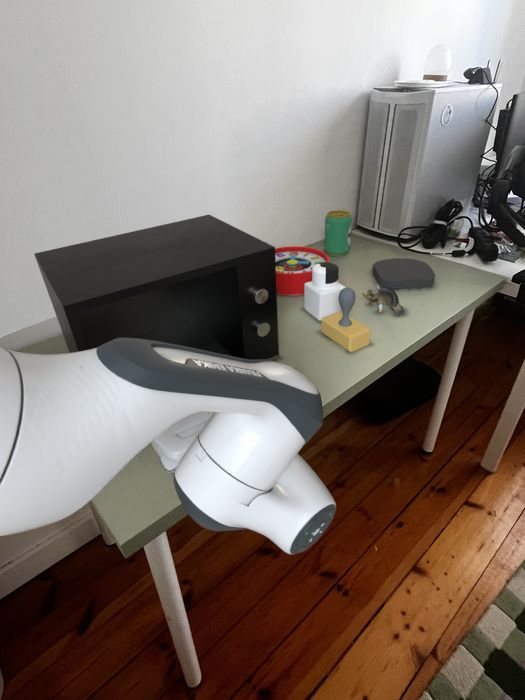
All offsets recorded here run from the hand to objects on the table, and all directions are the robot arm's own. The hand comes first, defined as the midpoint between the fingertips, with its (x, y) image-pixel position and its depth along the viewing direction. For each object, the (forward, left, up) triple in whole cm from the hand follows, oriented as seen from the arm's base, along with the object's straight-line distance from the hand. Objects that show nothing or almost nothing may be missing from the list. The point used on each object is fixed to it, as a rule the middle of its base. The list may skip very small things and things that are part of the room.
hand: (198, 390), depth 68 cm
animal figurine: (+54, +12, -9) cm, 56 cm away
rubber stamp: (+38, +8, -9) cm, 40 cm away
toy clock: (+47, +40, -9) cm, 62 cm away
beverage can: (+70, +48, -9) cm, 85 cm away
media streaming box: (+71, +22, -9) cm, 75 cm away
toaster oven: (+4, +23, -9) cm, 25 cm away
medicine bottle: (+42, +20, -9) cm, 47 cm away
